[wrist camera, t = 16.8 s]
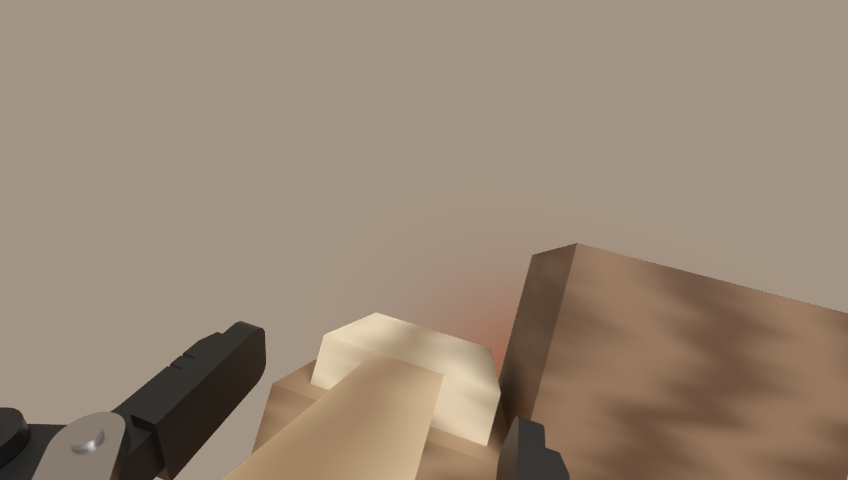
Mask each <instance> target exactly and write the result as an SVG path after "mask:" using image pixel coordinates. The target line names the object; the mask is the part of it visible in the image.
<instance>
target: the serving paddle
mask: <svg viewBox="0 0 848 480" xmlns="http://www.w3.org/2000/svg"><path fill="white" fill-rule="evenodd" d="M310 384H313V385H315V386H318V387H321V388H324V389H327V390H329V391H328V392H326V393H325V394H324V395H323V396H322V397H320V398H319V399H318V400H317V401H316V402H314V403H313V404H312V405H311V406H310V407H308V408H307V409H306V410H305V411H304V412H302V413H301V414H300V415H299V416H297V417H296V418H295V419H294V420H293V421H291V422H290V423H289V424H288V425H287V426H285V427H284V428H283V429H282V430H281V431H279V432H278V433H277V434H276V435H275V436H273V437H272V438H271V439H270V440H269V441H267V442H266V443H265V444H264V445H263V446H261V447H260V448H259V449H258V450H257V451H255V452H254V453H253V454H252V455H250V456H249V458H247V459H246V460H245V461H243V462H242V463H241V464H240V465H239V466H237V467H236V468H235V469H234V470H232V471H231V472H230V473H229V474H228V475H226V476H225V477H224V478H223V479H222V480H415V478H416V474H417V470H418V467H419V463H420V459H421V456H422V452H423V449H424V445H425V441H426V438H427V434H428V431H429V427H430V426H431V427H433V428H436V429H439V430H442V431H445V432H447V433H450V434H453V435H456V436H459V437H462V438H464V439H467V440H470V441H473V442H476V443H478V444H481V445H484V446H487V443H488V439H489V436H490V432H491V428H492V424H493V421H494V417H495V413H496V410H497V406H498V402H499V398H500V395H501V392H500V388H499V383H498V379H497V375H496V370H495V366H494V362H493V357H492V353H491V349H490V348H488V347H485V346H481V345H478V344H475V343H472V342H469V341H465V340H462V339H459V338H456V337H453V336H450V335H446V334H443V333H440V332H437V331H434V330H430V329H427V328H424V327H421V326H418V325H414V324H411V323H408V322H405V321H402V320H399V319H395V318H392V317H389V316H386V315H383V314H379V313H374V314H372V315H369V316H367V317H365V318H363V319H360V320H358V321H355V322H353V323H351V324H348V325H346V326H344V327H341V328H339V329H337V330H334V331H332V332H330V333H328V334H325V335H324V338H323V341H322V345H321V348H320V351H319V355H318V358H317V362H316V365H315V368H314V372H313V375H312V379H311V382H310Z"/></svg>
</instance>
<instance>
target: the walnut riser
mask: <svg viewBox="0 0 848 480" xmlns="http://www.w3.org/2000/svg"><path fill="white" fill-rule="evenodd" d="M316 362H317V359H316V360H314V361H312V362H310V363H309V364H307V365H305V366H303V367H302V368H300V369H298V370H296V371H295V372H293V373H291V374H289V375H287V376H286V377H284V378H282V379H280V380H278V381H277V382H275V383H273V384H272V387H271V390H270V394H269V397H268V400H267V404H266V408H265V410H264V414H263V417H262V420H261V424H260V427H259V431H258V434H257V437H256V441H255V444H254V447H253V451H252V454H253V453H254V452H255V451H257V450H258V449H259V448H260V447H261V446H263V445H264V444H265V443H266V442H267V441H269V440H270V439H271V438H272V437H273V436H275V435H276V434H277V433H278V432H279V431H281V430H282V429H283V428H284V427H285V426H287V425H288V424H289V423H290V422H291V421H293V420H294V419H295V418H296V417H297V416H299V415H300V414H301V413H302V412H304V411H305V410H306V409H307V408H308V407H310V406H311V405H312V404H313V403H314V402H316V401H317V400H318V399H319V398H320V397H322V396H323V395H324V394H325V393H326V392H328V391H329V390H327V389H324V388H321V387H318V386H315V385H313V384H310V382H311V379H312V375H313V372H314V368H315V365H316ZM498 383H499V388H500V392H501V395H500V398H499V402H498V406H497V410H496V413H495V417H494V421H493V424H492V428H491V432H490V436H489V439H488V443H487V446H484V445H481V444H478V443H476V442H473V441H470V440H467V439H464V438H462V437H459V436H456V435H453V434H450V433H447V432H445V431H442V430H439V429H436V428H433V427H431V426H430V427H429V431H428V434H427V438H426V441H425V445H424V449H423V452H422V456H421V459H420V463H419V467H418V470H417V474H416V478H415V480H496V475H497V466H498V460H499V456H500V452H501V449H502V446H503V444H504V442H505V439H506V437H507V435H508V432H509V430H510V428H511V425H512V423H513V421H514V419H515V417H516V416H519V417H522V418H525V419H528V420H531V421H534V422H537V423H540V424H543V426H544V429H545V447H546V448H549V449H551V450H554V451H557V452H560V455H561V457H562V459H563V461H564V463H565V466H566V468H567V470H568V472H569V476H570V480H847V476H848V313H844V312H840V311H836V310H832V309H828V308H824V307H821V306H817V305H813V304H809V303H805V302H801V301H798V300H793V299H790V298H786V297H782V296H778V295H775V294H771V293H767V292H763V291H759V290H755V289H752V288H747V287H744V286H739V285H736V284H732V283H729V282H724V281H721V280H717V279H713V278H709V277H706V276H702V275H698V274H694V273H690V272H686V271H682V270H679V269H675V268H671V267H667V266H663V265H659V264H656V263H652V262H648V261H644V260H640V259H636V258H633V257H628V256H625V255H621V254H617V253H613V252H609V251H606V250H602V249H598V248H594V247H590V246H587V245H583V244H579V243H576V244H572V245H568V246H565V247H561V248H557V249H554V250H550V251H546V252H542V253H539V254H535V255H532V258H531V262H530V266H529V270H528V273H527V277H526V281H525V285H524V288H523V292H522V296H521V299H520V303H519V307H518V310H517V314H516V318H515V322H514V325H513V329H512V333H511V337H510V340H509V344H508V348H507V352H506V355H505V359H504V363H503V366H502V370H501V374H500V377H499V381H498ZM252 454H251V455H252Z"/></svg>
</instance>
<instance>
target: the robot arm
mask: <svg viewBox="0 0 848 480" xmlns="http://www.w3.org/2000/svg"><path fill="white" fill-rule="evenodd" d="M265 366H266V350H265V331H264V329H262V328H260V327H257V326H254V325H251V324H248V323H245V322H242V321H239V322H237V323H235V324H234V325H233V326H231V327H230V328H229V329H228V330H227V331H226V332H224V333H223V334H222V333H219V332H217V333H214V334H212V335H210V336H208V337H206V338H204V339H201V340H199V341H198V342H196V343H195V344H194V345H193V346H192V347H190V348H189V349H188V350H187V351H185V352H184V353H183V355H182V356H179V357H178V358H177V359H176V360H175V361H173V362H172V363H171V364H170V366H169V367H168V366H167V367H166V368H165V369H164V370H162V371H161V372H160V373H158V374H157V375H156V376H155V377H154V378H152V379H151V380H150V381H149V382H147V383H146V384H145V385H144V386H143V387H141V388H140V389H139V390H138V391H136V392H135V393H134V394H133V395H132V396H130V397H129V398H128V399H127V400H125V401H124V402H123V403H122V404H121V405H119V406H118V407H117V408H115V409H114V410H112V411H111V412H99V413H94V414H90V415H88V416H84V417H82V418H80V419H77V420H76V421H74V422H72V423H70V424H69V425H49V424H48V425H47V424H27V423H26V421H25V420H24V417H23V415H22V414H21V412H20V411H19V410H16V409H14V408H0V480H153V479H154V478H155V477H159V478H161V479H164V480H173V479H174V478H175V477H176V476H177V475H178V473H179V472H180V471H181V470H182V469H183V468H184V467H185V465H186V464H187V463H188V462H189V461H190V460H191V458H192V457H193V456H194V455H195V454H196V453H197V452H198V450H199V449H200V448H201V447H202V446H203V445H204V443H205V442H206V441H207V440H208V439H209V438H210V437H211V436H212V434H213V433H214V432H215V431H216V430H217V429H218V427H219V426H220V425H221V424H222V423H223V422H224V420H225V419H226V418H227V417H228V416H229V415H230V414H231V412H232V411H233V410H234V409H235V408H236V407H237V406H238V404H239V403H240V402H241V401H242V400H243V399H244V398H245V396H246V395H247V394H248V393H249V392H250V391H251V389H252V388H253V387H254V386H255V385H256V384H257V383H258V381H259V380H260V378H261V376H262V374H263V372H264V370H265ZM496 480H570V476H569V472H568V470H567V468H566V466H565V463H564V461H563V459H562V457H561V455H560V452H557V451H554V450H551V449H549V448H546V447H545V429H544V426H543V424H540V423H537V422H534V421H531V420H528V419H525V418H522V417H519V416H516V417H515V419H514V421H513V423H512V425H511V428H510V430H509V432H508V435H507V437H506V439H505V442H504V444H503V446H502V449H501V452H500V456H499V460H498V466H497V475H496Z"/></svg>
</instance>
